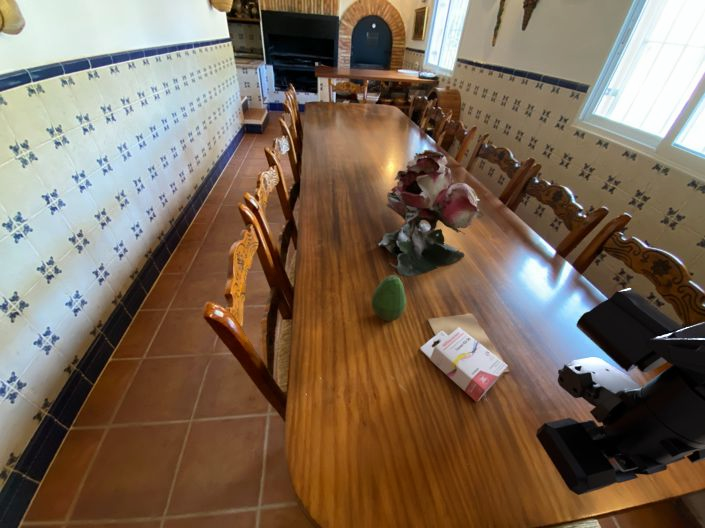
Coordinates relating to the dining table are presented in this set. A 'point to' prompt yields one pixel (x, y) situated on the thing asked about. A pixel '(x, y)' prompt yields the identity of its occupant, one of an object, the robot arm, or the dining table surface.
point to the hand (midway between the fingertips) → (584, 465)
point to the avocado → (389, 298)
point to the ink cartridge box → (465, 362)
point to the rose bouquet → (428, 214)
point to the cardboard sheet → (467, 325)
